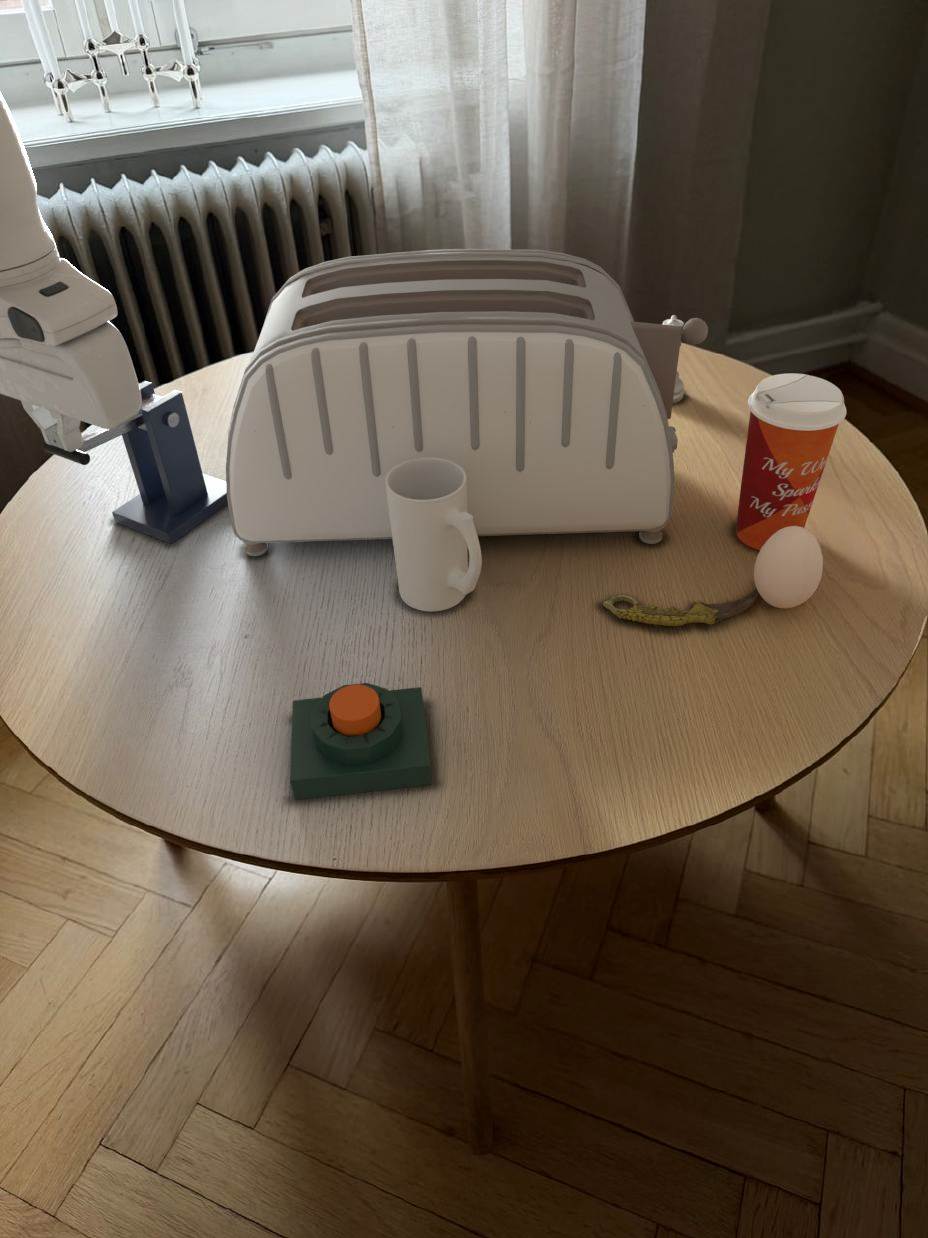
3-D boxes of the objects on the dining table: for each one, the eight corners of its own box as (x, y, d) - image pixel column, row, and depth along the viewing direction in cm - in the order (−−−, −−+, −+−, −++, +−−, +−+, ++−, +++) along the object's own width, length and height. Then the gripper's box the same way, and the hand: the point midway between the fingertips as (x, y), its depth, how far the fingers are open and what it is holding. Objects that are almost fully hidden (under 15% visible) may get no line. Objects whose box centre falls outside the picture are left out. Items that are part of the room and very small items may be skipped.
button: (332, 739, 66) (329, 722, 65) (331, 703, 69) (329, 686, 68) (382, 734, 66) (380, 717, 65) (380, 698, 69) (377, 681, 68)
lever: (83, 473, 81) (77, 449, 80) (45, 459, 83) (38, 435, 82) (182, 425, 89) (178, 401, 88) (146, 413, 91) (141, 390, 90)
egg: (801, 582, 83) (820, 509, 78) (820, 622, 79) (842, 547, 74) (740, 584, 83) (756, 512, 78) (756, 624, 79) (774, 550, 74)
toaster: (705, 552, 87) (745, 323, 72) (233, 567, 88) (178, 343, 73) (666, 438, 103) (692, 232, 89) (268, 451, 104) (228, 248, 89)
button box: (294, 800, 66) (285, 764, 64) (296, 719, 72) (288, 683, 70) (432, 784, 67) (429, 748, 64) (423, 706, 73) (420, 669, 71)
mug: (381, 588, 85) (368, 476, 77) (438, 558, 88) (432, 448, 80) (450, 643, 79) (444, 528, 71) (509, 609, 82) (509, 495, 74)
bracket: (171, 544, 91) (136, 428, 83) (114, 521, 94) (76, 408, 86) (239, 494, 97) (214, 383, 89) (184, 475, 101) (154, 366, 92)
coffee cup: (750, 566, 85) (781, 421, 75) (709, 518, 91) (733, 378, 81) (830, 550, 87) (872, 405, 77) (785, 503, 93) (817, 364, 83)
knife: (759, 577, 82) (780, 610, 78) (757, 586, 83) (778, 618, 79) (600, 593, 82) (614, 627, 78) (600, 601, 82) (613, 635, 78)
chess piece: (689, 393, 111) (701, 313, 104) (671, 408, 108) (682, 326, 102) (657, 384, 113) (666, 304, 106) (639, 397, 110) (647, 317, 104)
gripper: (-106, 282, 75) (-39, 433, 84) (63, 329, 66) (118, 492, 75) (-39, 257, 79) (18, 404, 88) (129, 298, 70) (173, 456, 79)
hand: (66, 445), depth 81 cm, fingers closed
